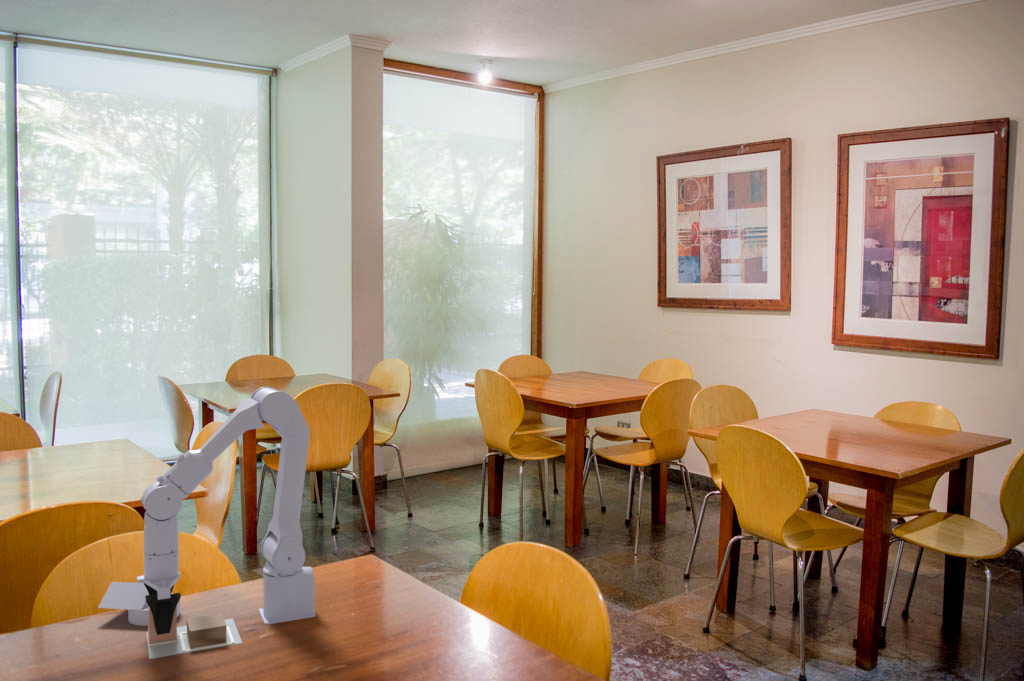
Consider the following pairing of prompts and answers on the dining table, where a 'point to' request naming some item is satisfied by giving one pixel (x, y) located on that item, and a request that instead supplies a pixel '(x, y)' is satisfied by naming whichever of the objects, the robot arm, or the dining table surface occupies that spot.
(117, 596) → the wedge on round base
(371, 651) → the dining table surface
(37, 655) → the dining table surface
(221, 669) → the dining table surface
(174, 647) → the board
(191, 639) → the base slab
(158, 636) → the column block
